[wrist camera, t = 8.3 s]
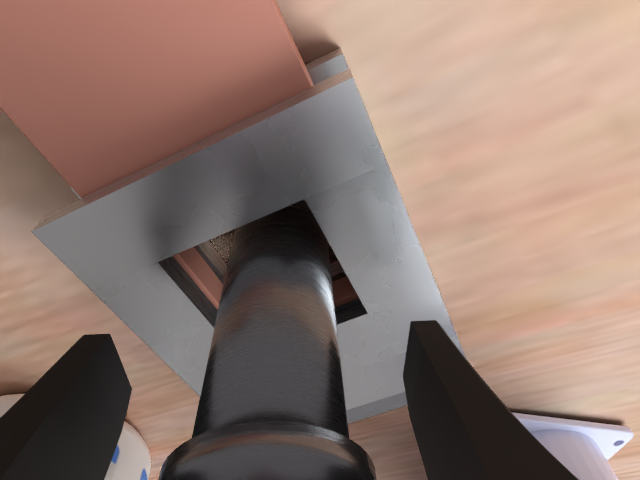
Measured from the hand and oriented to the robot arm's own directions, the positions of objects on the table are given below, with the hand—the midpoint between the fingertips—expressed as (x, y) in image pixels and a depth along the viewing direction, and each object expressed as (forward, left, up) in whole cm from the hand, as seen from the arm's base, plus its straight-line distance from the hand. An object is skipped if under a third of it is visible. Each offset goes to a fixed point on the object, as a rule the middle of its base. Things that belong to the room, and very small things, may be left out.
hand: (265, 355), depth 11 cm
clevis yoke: (-2, -1, -6) cm, 6 cm away
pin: (+1, 0, -6) cm, 6 cm away
